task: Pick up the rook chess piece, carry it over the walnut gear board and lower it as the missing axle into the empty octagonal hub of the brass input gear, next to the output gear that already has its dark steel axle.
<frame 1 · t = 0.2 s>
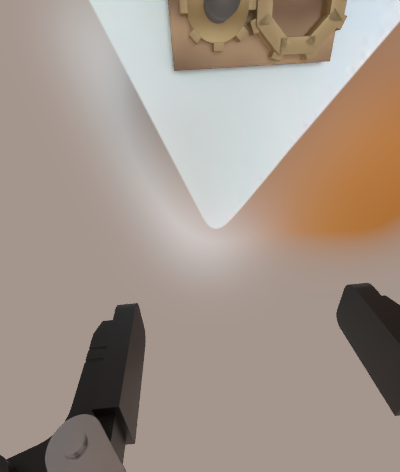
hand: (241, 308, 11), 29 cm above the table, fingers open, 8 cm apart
gear board: (251, 2, 28), on the table
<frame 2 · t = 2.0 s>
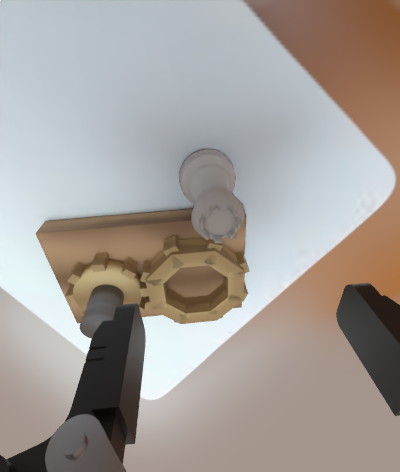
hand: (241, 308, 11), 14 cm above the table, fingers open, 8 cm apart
rook chess piece: (205, 174, 22), on the table
gear board: (153, 261, 26), on the table
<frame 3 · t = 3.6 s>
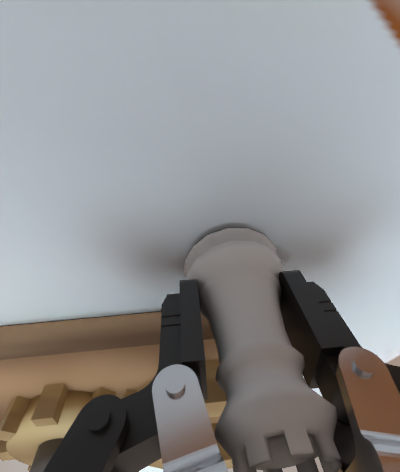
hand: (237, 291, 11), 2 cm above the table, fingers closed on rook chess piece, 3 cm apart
rook chess piece: (229, 259, 13), on the table, touching gripper
gear board: (143, 372, 17), on the table
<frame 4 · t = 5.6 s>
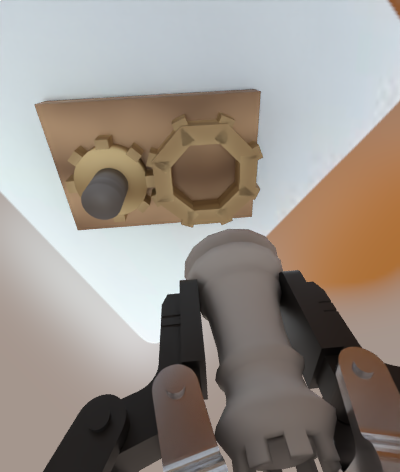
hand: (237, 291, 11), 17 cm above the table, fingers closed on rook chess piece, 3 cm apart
rook chess piece: (229, 260, 13), point 15 cm above the table, touching gripper
gear board: (159, 161, 25), on the table
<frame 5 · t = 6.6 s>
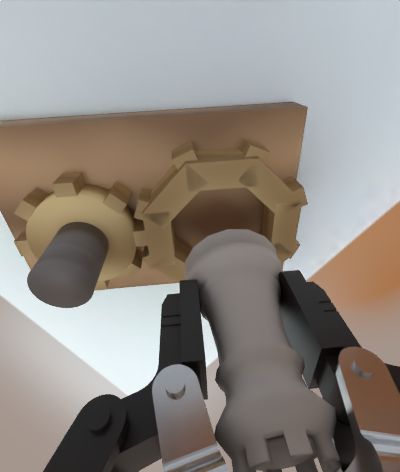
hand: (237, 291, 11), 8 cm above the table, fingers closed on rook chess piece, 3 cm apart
rook chess piece: (229, 260, 13), point 6 cm above the table, touching gripper
gear board: (155, 201, 18), on the table
when the fingers open (5 cm above the table, at t = 7.5 s): rook chess piece stays where it is, resting on gear board.
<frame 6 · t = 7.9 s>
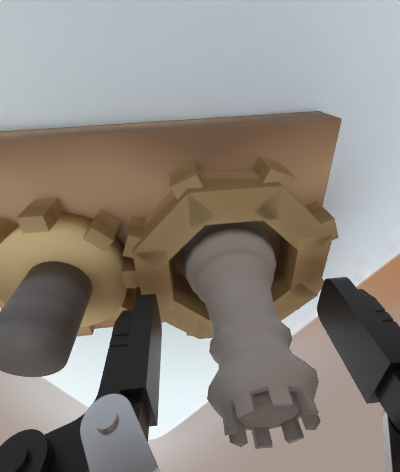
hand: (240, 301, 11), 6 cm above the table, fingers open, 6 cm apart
rook chess piece: (225, 247, 14), point 2 cm above the table, touching gear board
gear board: (151, 228, 15), on the table
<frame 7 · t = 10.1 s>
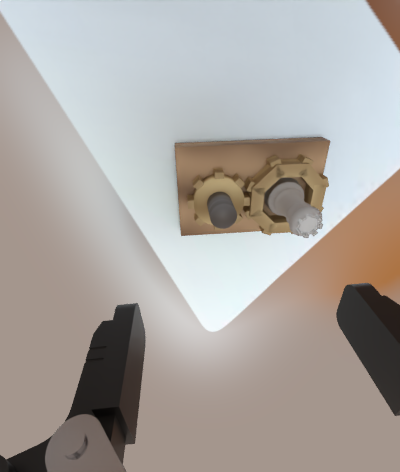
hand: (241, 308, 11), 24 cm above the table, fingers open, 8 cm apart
rook chess piece: (281, 193, 32), point 2 cm above the table, touching gear board
gear board: (246, 185, 34), on the table
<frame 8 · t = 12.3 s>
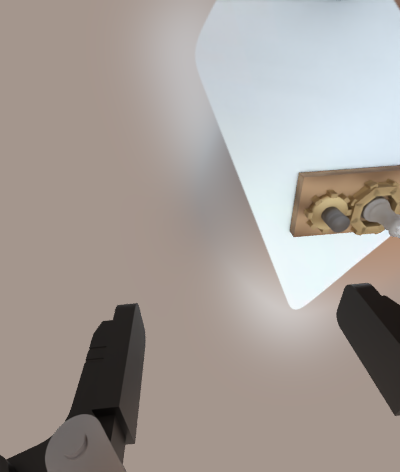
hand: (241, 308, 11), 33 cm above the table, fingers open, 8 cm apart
rook chess piece: (369, 205, 45), point 2 cm above the table, touching gear board
gear board: (342, 200, 46), on the table
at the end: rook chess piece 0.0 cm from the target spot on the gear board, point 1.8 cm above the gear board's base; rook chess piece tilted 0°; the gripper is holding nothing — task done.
